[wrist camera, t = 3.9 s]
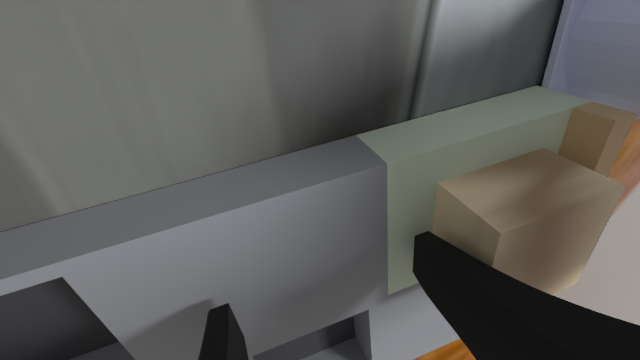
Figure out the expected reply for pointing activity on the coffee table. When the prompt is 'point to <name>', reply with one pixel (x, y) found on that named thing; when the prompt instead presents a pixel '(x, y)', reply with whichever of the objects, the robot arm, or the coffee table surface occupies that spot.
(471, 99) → the coffee table surface
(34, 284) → the board
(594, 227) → the maple block
